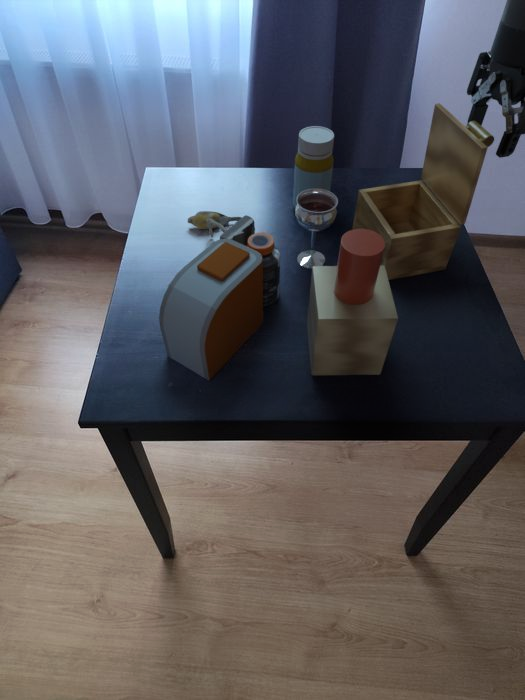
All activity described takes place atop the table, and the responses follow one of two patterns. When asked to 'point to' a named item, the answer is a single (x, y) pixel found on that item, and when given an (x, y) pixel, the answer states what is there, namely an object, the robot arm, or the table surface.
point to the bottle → (313, 160)
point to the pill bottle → (267, 265)
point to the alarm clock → (213, 306)
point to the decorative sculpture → (215, 219)
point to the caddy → (408, 227)
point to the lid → (454, 160)
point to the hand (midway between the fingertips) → (487, 142)
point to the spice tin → (358, 266)
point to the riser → (348, 327)
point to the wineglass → (315, 220)
